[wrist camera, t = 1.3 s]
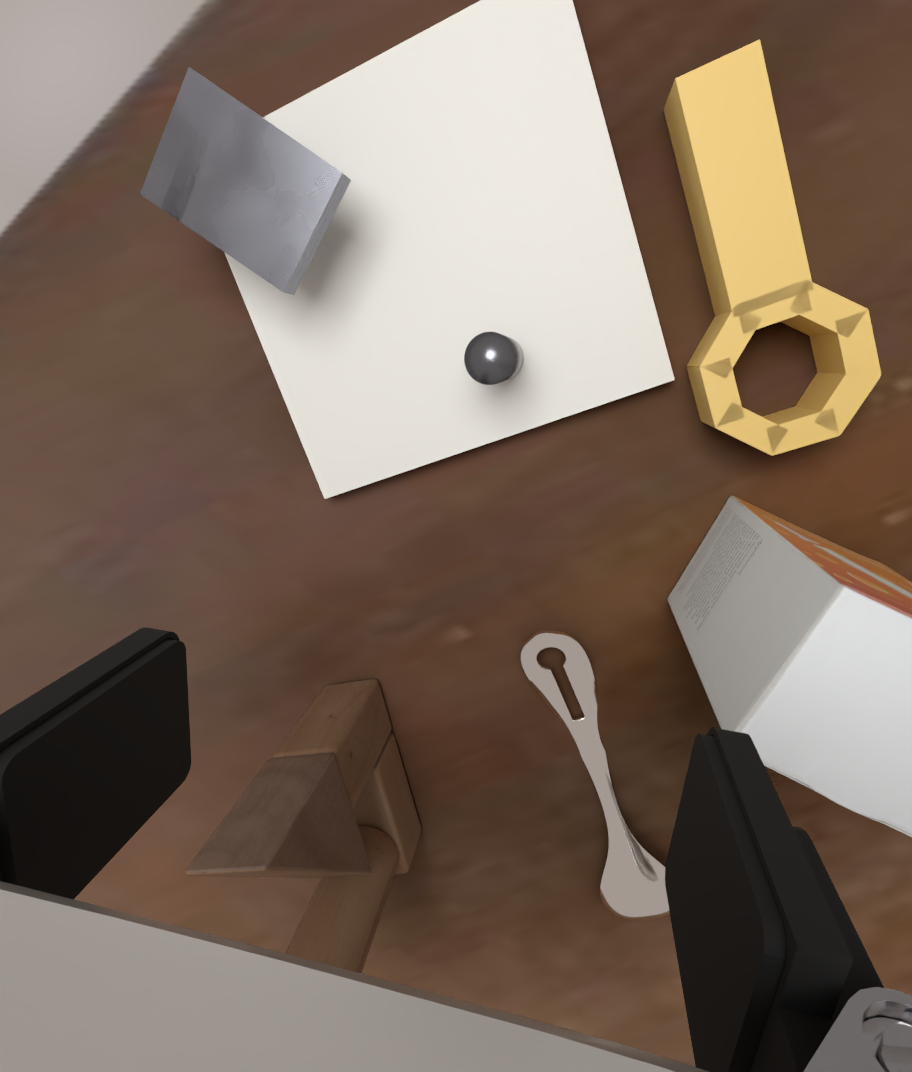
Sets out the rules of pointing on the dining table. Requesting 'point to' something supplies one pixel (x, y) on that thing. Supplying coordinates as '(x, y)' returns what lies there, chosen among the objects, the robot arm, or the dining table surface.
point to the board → (459, 249)
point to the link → (758, 259)
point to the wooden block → (326, 822)
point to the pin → (493, 358)
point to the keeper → (243, 183)
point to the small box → (805, 657)
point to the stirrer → (599, 782)
